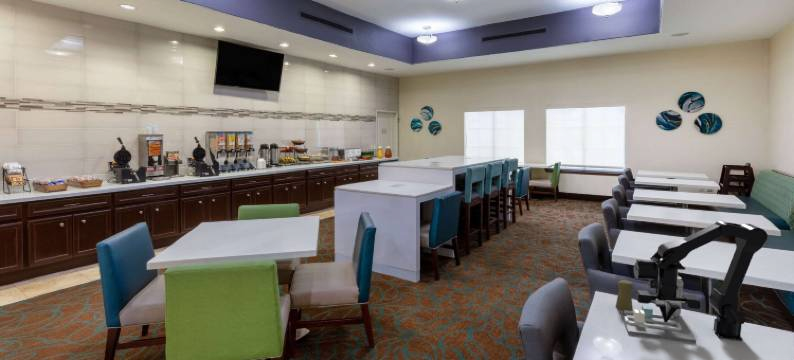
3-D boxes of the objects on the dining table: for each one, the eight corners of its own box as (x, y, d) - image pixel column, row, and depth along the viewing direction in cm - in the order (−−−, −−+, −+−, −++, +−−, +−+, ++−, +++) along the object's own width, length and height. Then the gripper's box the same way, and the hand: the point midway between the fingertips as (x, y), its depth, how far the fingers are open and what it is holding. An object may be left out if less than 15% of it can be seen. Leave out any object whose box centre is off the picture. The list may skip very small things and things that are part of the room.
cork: (635, 310, 164) (637, 284, 162) (620, 311, 164) (621, 284, 162) (627, 304, 170) (629, 278, 168) (612, 304, 170) (614, 278, 168)
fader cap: (642, 320, 153) (643, 309, 152) (644, 324, 150) (644, 313, 149) (633, 319, 154) (633, 308, 153) (634, 323, 151) (635, 312, 150)
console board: (681, 321, 154) (682, 308, 153) (695, 343, 139) (697, 328, 138) (621, 314, 161) (621, 301, 160) (628, 334, 146) (629, 320, 145)
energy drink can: (676, 311, 163) (678, 274, 161) (683, 318, 157) (686, 280, 155) (659, 310, 164) (661, 273, 162) (666, 317, 158) (668, 279, 156)
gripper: (691, 274, 151) (689, 315, 153) (633, 269, 157) (631, 309, 159) (702, 286, 141) (699, 329, 143) (639, 280, 147) (637, 322, 149)
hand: (665, 321), depth 149 cm, fingers closed
